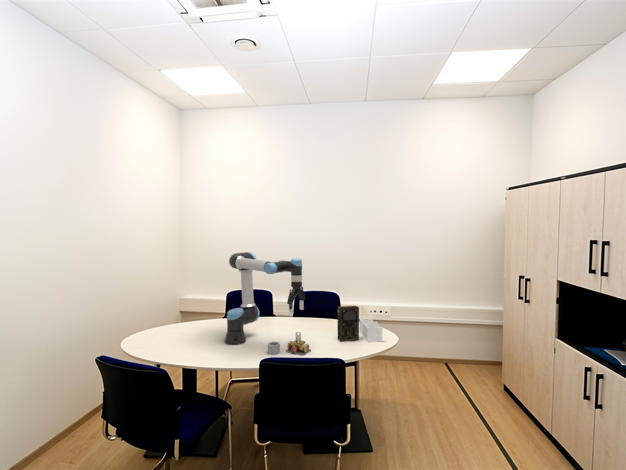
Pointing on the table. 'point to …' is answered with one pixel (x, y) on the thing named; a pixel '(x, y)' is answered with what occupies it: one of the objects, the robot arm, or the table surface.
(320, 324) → the table surface
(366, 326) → the storage container
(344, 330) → the voltmeter
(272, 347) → the coupling
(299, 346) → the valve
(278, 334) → the table surface
